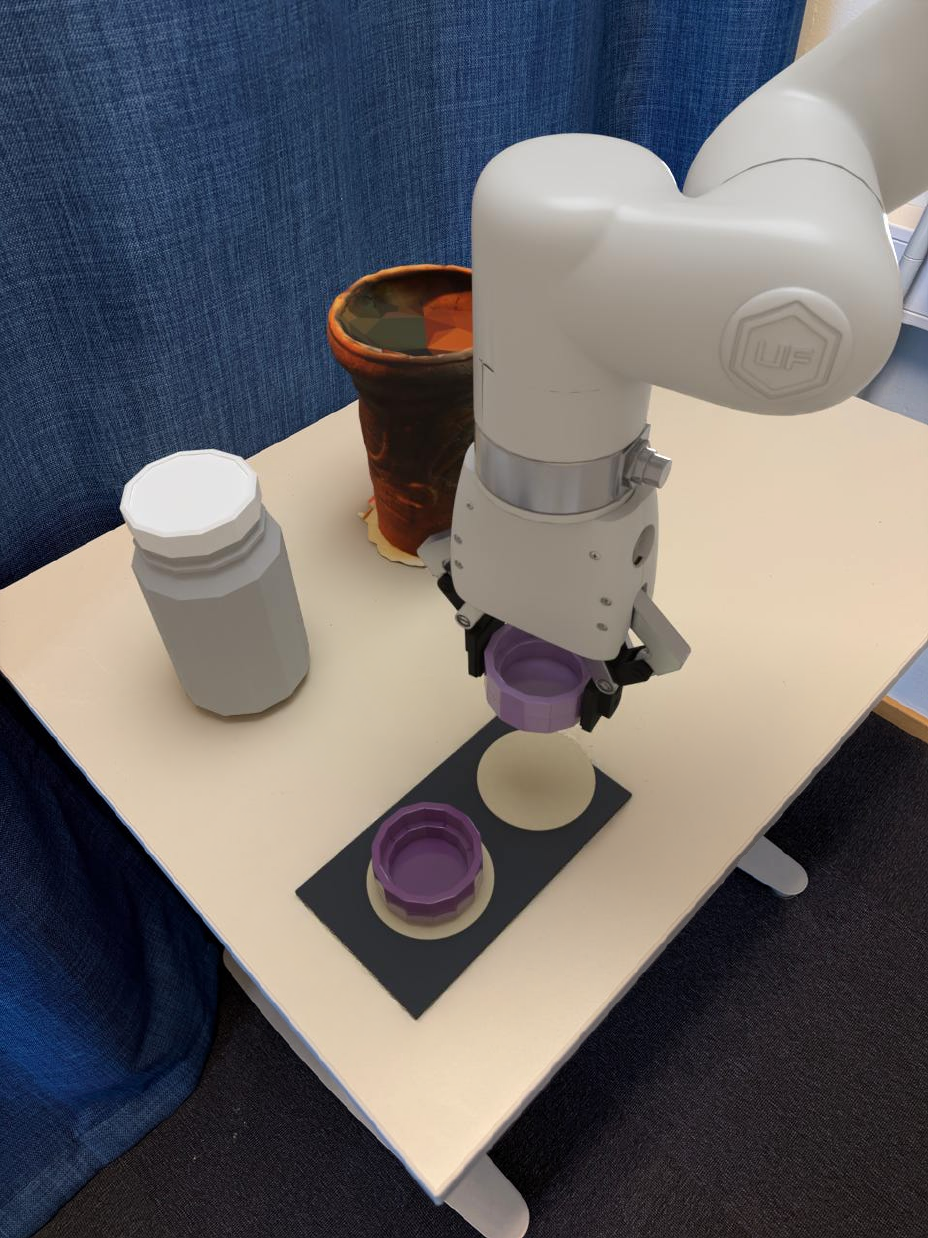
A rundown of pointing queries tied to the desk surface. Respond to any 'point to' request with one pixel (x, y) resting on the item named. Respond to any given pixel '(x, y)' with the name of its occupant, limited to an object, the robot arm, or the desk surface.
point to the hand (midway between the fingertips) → (540, 685)
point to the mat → (511, 846)
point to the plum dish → (427, 862)
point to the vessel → (409, 395)
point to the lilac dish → (533, 681)
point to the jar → (217, 580)
